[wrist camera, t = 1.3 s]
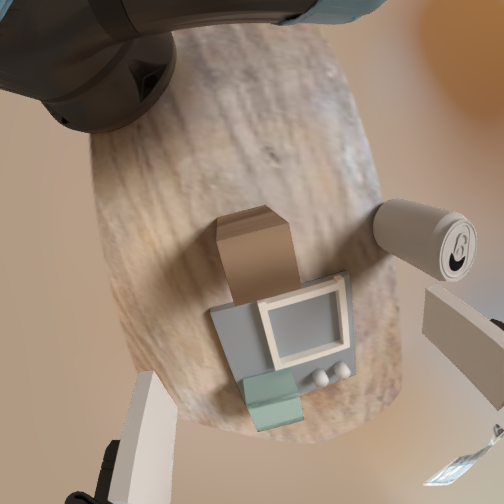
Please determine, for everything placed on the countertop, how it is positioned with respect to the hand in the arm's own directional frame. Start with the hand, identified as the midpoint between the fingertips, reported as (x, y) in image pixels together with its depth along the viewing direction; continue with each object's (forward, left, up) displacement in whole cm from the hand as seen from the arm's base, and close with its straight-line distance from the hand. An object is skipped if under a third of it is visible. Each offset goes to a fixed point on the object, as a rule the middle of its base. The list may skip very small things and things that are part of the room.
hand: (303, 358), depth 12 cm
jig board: (+14, +2, -19) cm, 23 cm away
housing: (+19, -2, -17) cm, 26 cm away
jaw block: (-1, 0, -19) cm, 19 cm away
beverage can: (+2, +17, -19) cm, 25 cm away
